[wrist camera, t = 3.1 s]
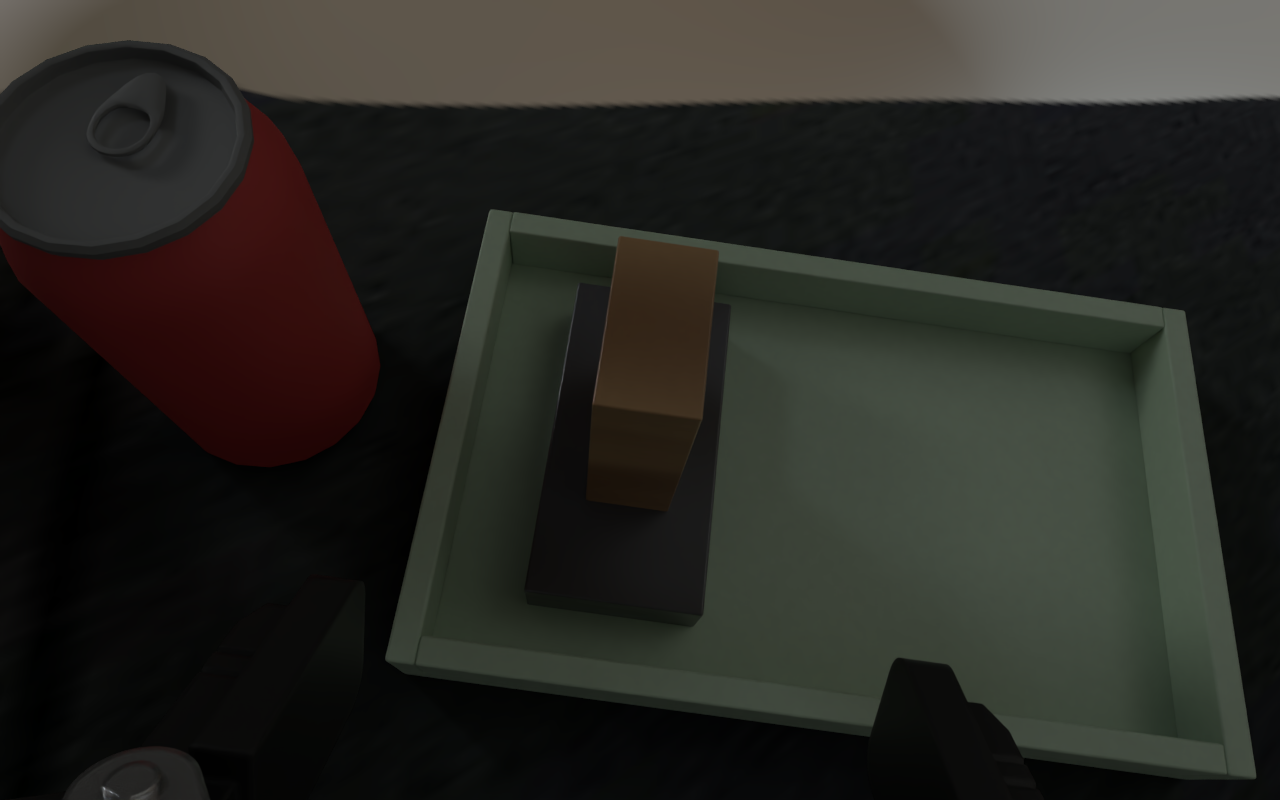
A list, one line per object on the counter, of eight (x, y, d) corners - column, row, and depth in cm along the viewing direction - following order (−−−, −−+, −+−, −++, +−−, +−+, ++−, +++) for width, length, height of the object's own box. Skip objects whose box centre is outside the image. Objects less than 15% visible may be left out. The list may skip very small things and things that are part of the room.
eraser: (693, 627, 26) (753, 556, 18) (526, 604, 26) (508, 522, 18) (721, 332, 30) (780, 163, 22) (577, 311, 30) (581, 133, 22)
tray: (403, 673, 26) (383, 660, 23) (496, 257, 32) (489, 207, 29) (1185, 779, 26) (1258, 779, 23) (1132, 350, 32) (1185, 310, 29)
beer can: (409, 317, 30) (321, 55, 19) (344, 494, 28) (198, 307, 17) (227, 275, 30) (35, -9, 19) (143, 448, 28) (-133, 231, 17)
